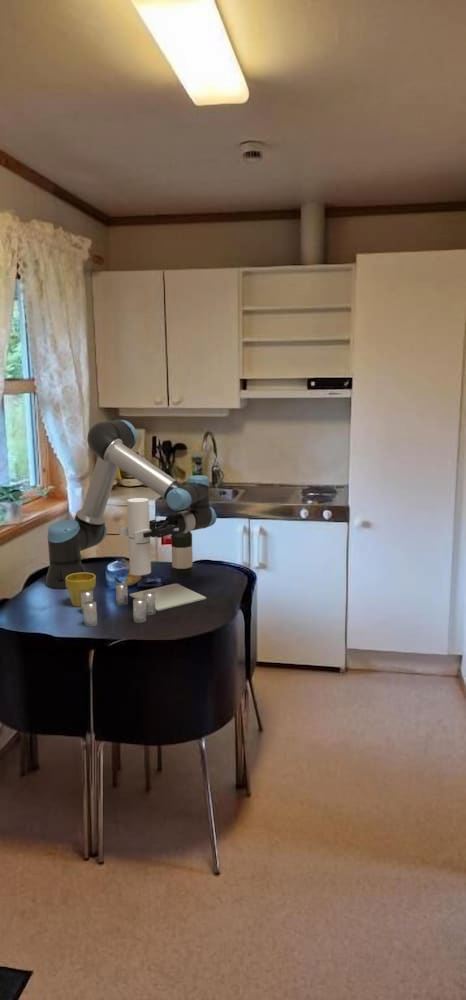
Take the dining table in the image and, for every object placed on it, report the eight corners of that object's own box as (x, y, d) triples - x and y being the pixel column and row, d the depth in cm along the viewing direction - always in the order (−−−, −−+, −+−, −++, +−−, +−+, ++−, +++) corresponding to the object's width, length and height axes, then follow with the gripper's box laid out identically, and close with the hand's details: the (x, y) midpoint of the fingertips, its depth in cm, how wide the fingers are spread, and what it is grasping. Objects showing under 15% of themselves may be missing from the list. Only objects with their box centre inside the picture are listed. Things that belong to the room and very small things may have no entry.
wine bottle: (178, 571, 272) (177, 498, 266) (196, 574, 268) (195, 500, 262) (168, 577, 264) (166, 502, 259) (186, 580, 261) (184, 504, 255)
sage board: (129, 595, 244) (129, 594, 243) (176, 584, 255) (176, 583, 255) (157, 611, 228) (157, 609, 228) (206, 598, 240) (206, 597, 239)
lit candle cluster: (68, 613, 226) (67, 594, 224) (132, 599, 240) (131, 580, 238) (97, 634, 208) (96, 612, 207) (164, 616, 222) (163, 596, 221)
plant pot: (102, 603, 236) (101, 576, 234) (76, 610, 229) (75, 583, 227) (87, 596, 243) (85, 570, 241) (61, 603, 236) (59, 576, 234)
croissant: (136, 596, 253) (146, 578, 252) (112, 586, 251) (121, 567, 250) (134, 578, 274) (143, 561, 273) (112, 568, 271) (120, 551, 270)
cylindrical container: (136, 568, 233) (133, 497, 229) (154, 570, 231) (152, 498, 226) (126, 574, 227) (123, 501, 222) (145, 576, 224) (142, 502, 219)
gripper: (198, 537, 233) (146, 551, 217) (161, 528, 246) (109, 540, 230) (198, 516, 231) (145, 528, 215) (161, 508, 245) (108, 519, 229)
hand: (127, 534), depth 223 cm, fingers closed on cylindrical container, 7 cm apart
